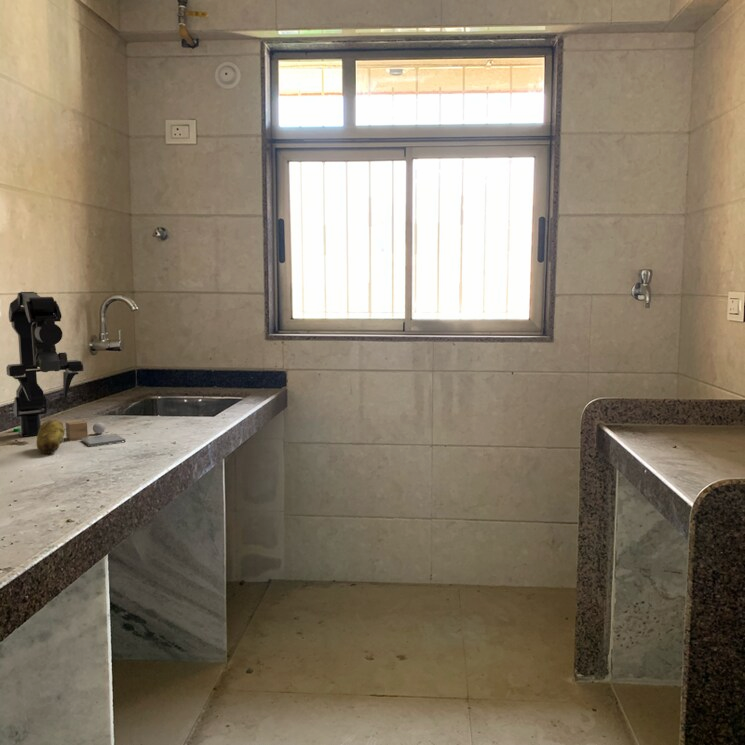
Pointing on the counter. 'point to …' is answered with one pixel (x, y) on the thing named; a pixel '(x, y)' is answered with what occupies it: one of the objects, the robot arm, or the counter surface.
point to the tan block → (76, 430)
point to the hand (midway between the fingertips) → (47, 398)
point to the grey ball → (98, 428)
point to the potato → (50, 436)
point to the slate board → (102, 439)
